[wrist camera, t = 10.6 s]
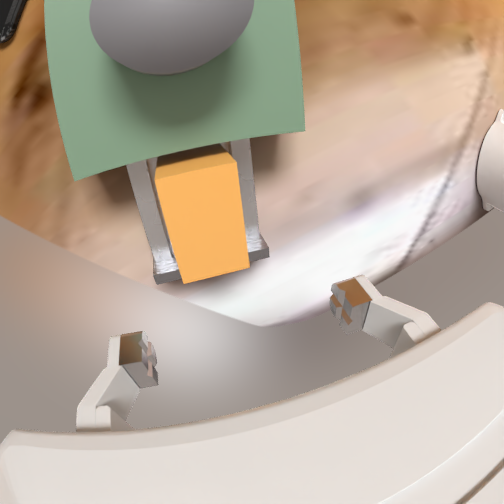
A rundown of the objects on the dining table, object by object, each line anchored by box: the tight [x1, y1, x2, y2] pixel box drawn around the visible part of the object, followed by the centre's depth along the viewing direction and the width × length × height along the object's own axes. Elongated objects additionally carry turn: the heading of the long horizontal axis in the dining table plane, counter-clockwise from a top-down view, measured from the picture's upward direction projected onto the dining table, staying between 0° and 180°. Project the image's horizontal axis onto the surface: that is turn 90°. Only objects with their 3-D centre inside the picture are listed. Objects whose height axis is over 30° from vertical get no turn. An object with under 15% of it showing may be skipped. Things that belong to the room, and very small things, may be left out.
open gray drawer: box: [126, 138, 269, 285], centre depth 23 cm, size 10×11×4 cm
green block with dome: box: [44, 0, 305, 181], centre depth 13 cm, size 16×14×9 cm
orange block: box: [155, 143, 250, 284], centre depth 21 cm, size 5×8×6 cm, turn 6°
